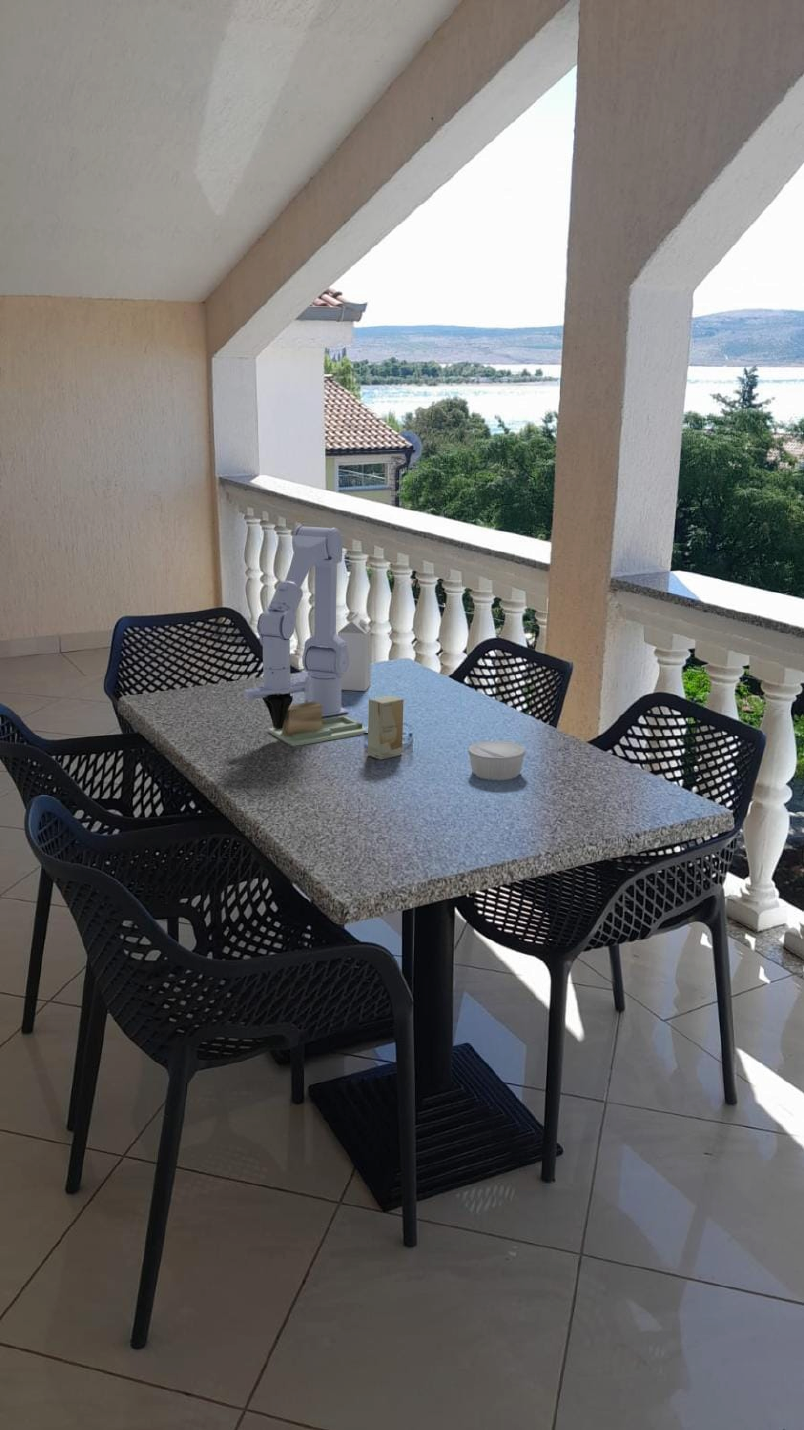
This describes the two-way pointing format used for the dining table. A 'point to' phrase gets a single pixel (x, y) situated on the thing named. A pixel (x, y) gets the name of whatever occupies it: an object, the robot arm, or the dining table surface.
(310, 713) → the panel block
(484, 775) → the ramekin
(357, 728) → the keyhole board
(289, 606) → the robot arm
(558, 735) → the dining table surface
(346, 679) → the milk carton
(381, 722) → the skincare box
